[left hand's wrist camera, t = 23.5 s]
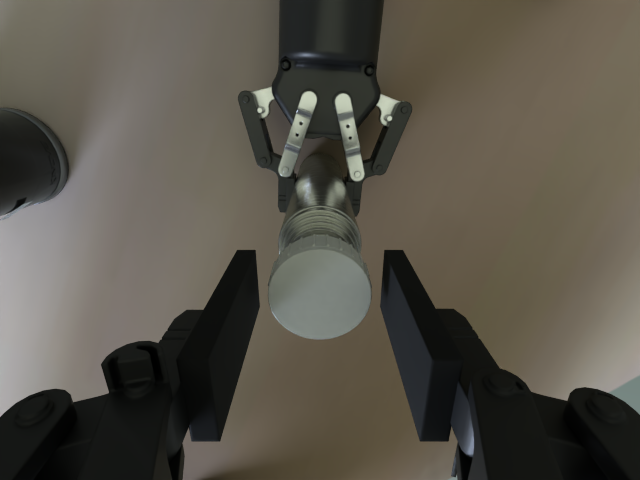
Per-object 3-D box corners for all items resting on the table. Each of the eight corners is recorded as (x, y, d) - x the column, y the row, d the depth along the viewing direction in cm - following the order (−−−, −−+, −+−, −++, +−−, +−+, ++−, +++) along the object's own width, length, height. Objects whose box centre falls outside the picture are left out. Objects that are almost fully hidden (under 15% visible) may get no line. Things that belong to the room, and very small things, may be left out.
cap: (259, 246, 14) (252, 261, 13) (357, 223, 14) (361, 237, 12) (286, 326, 16) (283, 349, 14) (375, 308, 15) (381, 329, 14)
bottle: (296, 192, 37) (261, 325, 15) (301, 150, 35) (271, 229, 13) (337, 197, 37) (362, 337, 15) (344, 156, 35) (383, 245, 13)
